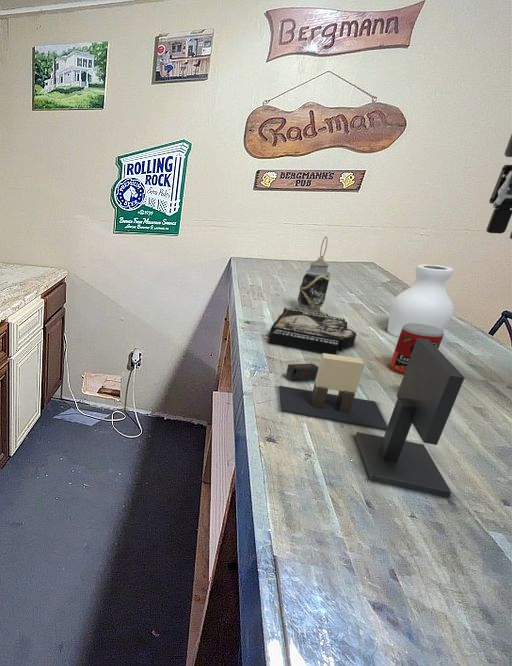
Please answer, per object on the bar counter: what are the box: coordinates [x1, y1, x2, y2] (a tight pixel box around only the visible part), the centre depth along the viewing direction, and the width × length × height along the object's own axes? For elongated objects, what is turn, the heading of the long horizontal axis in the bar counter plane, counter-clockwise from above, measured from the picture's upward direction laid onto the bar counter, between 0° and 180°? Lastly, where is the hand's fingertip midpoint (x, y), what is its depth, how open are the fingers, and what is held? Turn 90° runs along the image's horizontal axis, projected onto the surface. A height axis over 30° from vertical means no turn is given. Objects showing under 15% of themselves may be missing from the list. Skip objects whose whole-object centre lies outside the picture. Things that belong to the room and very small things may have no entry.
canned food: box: [389, 323, 445, 376], centre depth 109 cm, size 8×8×11 cm
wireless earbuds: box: [285, 363, 319, 382], centre depth 108 cm, size 5×7×3 cm, turn 95°
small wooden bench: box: [311, 353, 365, 413], centre depth 93 cm, size 7×4×11 cm, turn 65°
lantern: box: [297, 236, 332, 313], centre depth 152 cm, size 9×8×25 cm
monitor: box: [354, 338, 466, 499], centre depth 73 cm, size 10×16×20 cm, turn 155°
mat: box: [279, 385, 388, 432], centre depth 95 cm, size 18×12×1 cm, turn 65°
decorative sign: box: [268, 307, 357, 355], centre depth 134 cm, size 21×3×30 cm
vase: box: [386, 264, 455, 338], centre depth 131 cm, size 14×14×20 cm
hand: (506, 236), depth 72 cm, fingers open, 8 cm apart
